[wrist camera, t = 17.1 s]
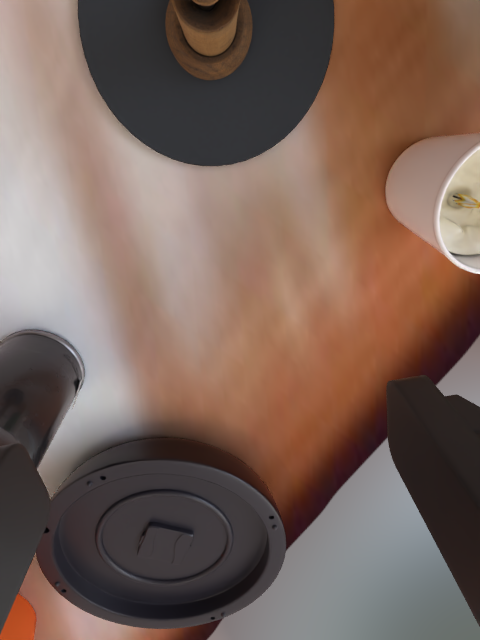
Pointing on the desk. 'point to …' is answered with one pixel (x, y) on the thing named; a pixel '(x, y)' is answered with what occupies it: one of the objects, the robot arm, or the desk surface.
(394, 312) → the desk surface
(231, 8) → the brown wooden turned piece
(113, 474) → the black round plastic slab
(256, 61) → the disc
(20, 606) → the flowerpot
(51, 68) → the desk surface
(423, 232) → the white cup
